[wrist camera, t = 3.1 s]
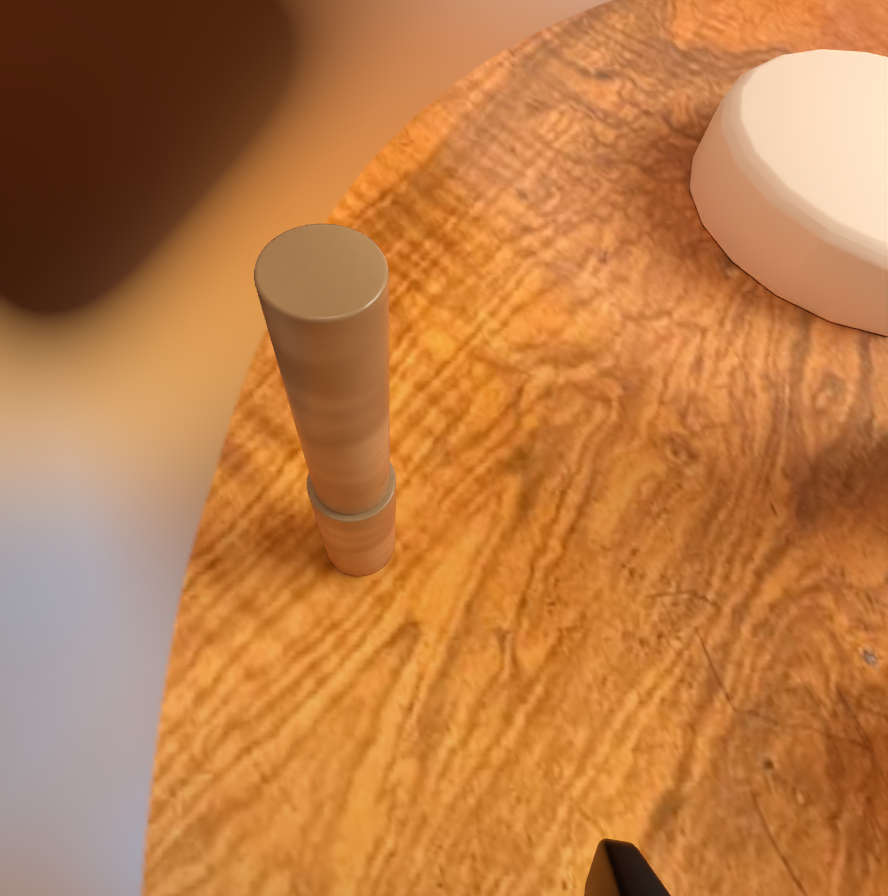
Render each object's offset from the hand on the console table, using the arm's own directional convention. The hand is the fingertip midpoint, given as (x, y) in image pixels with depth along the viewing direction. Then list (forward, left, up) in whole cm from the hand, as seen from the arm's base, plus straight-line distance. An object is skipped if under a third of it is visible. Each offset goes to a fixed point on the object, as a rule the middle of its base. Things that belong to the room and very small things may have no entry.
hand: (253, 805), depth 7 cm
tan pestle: (+4, +7, -14) cm, 16 cm away
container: (+39, +15, -14) cm, 44 cm away
